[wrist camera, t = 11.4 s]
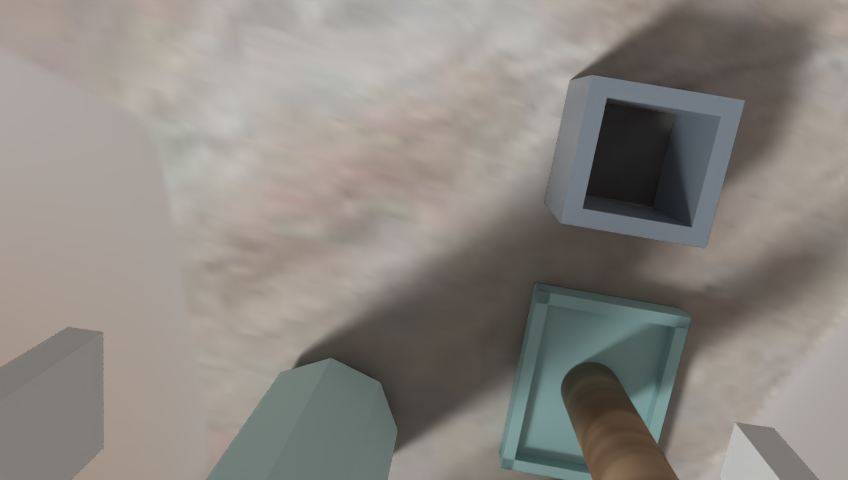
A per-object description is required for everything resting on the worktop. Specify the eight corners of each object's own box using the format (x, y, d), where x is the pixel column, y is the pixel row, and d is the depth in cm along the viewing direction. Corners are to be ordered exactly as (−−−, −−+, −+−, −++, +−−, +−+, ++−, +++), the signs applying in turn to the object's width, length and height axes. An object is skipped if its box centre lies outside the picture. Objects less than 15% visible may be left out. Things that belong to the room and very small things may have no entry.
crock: (569, 80, 41) (592, 75, 33) (695, 101, 40) (745, 100, 33) (544, 202, 42) (560, 223, 35) (664, 223, 42) (705, 248, 35)
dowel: (567, 357, 43) (621, 476, 30) (625, 367, 43) (706, 491, 30) (555, 410, 44) (602, 549, 31) (612, 420, 44) (684, 564, 31)
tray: (535, 282, 44) (538, 290, 42) (681, 308, 43) (691, 318, 41) (499, 452, 46) (500, 467, 44) (636, 477, 46) (644, 494, 44)
